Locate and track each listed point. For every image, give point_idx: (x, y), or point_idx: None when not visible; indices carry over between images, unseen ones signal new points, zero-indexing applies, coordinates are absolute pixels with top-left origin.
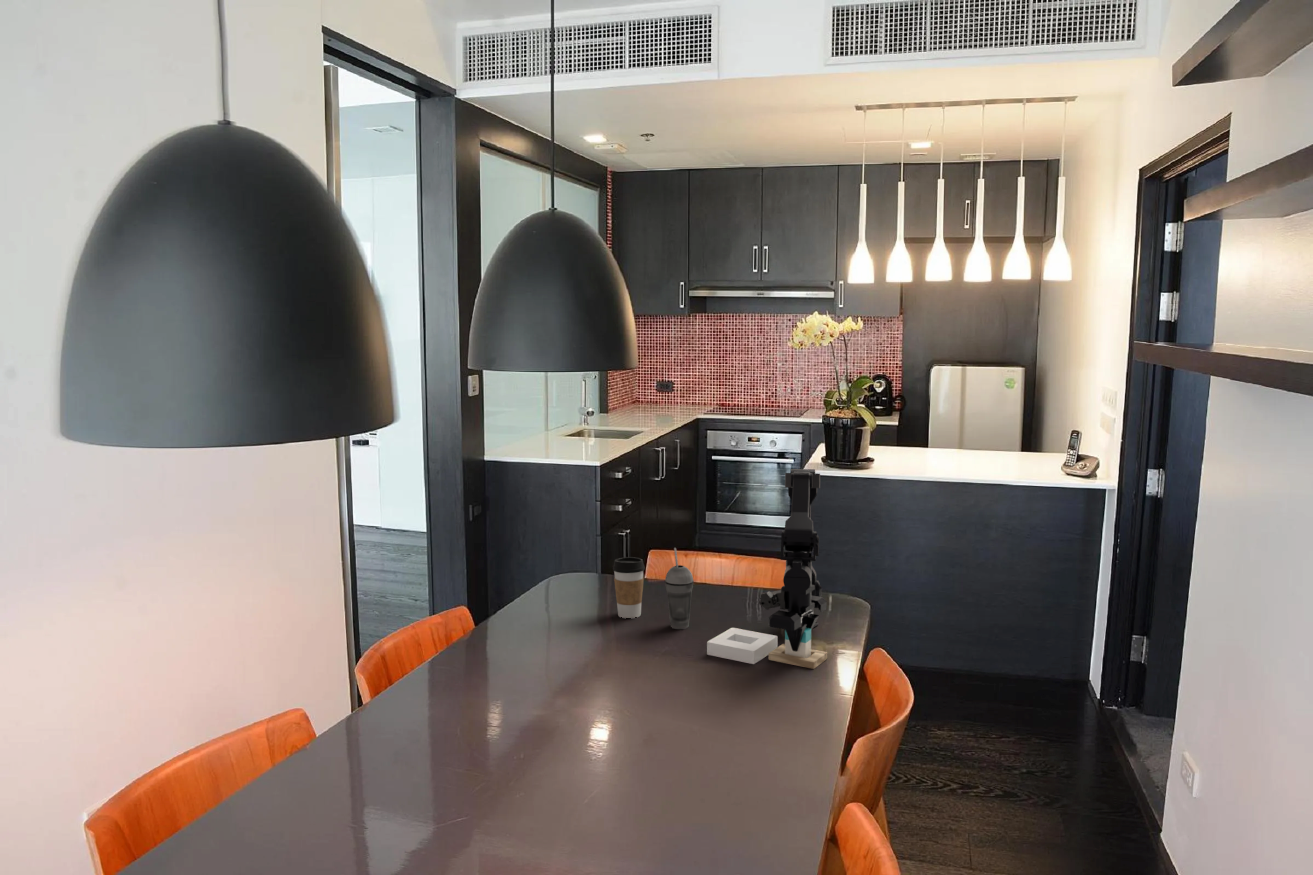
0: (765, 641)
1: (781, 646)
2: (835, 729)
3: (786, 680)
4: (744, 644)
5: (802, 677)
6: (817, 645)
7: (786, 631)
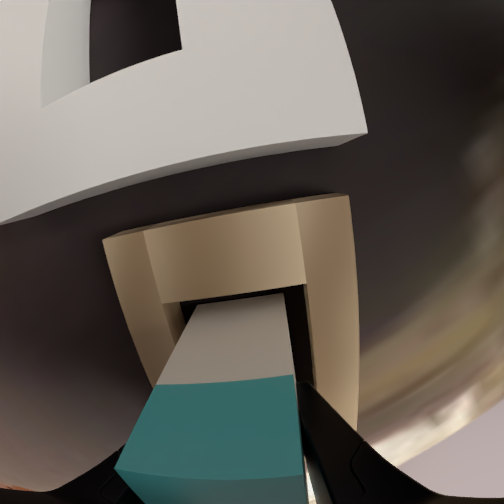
0: (150, 140)
1: (286, 224)
2: (38, 491)
3: (49, 403)
4: (22, 91)
5: (105, 436)
6: (489, 303)
7: (70, 484)
